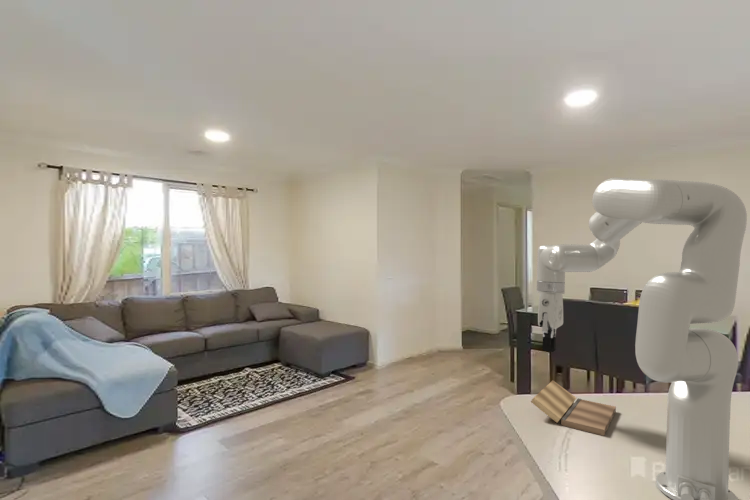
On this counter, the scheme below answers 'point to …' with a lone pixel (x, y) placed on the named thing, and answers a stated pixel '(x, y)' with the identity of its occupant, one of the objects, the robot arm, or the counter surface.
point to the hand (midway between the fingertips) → (548, 350)
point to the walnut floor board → (589, 416)
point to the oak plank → (553, 400)
